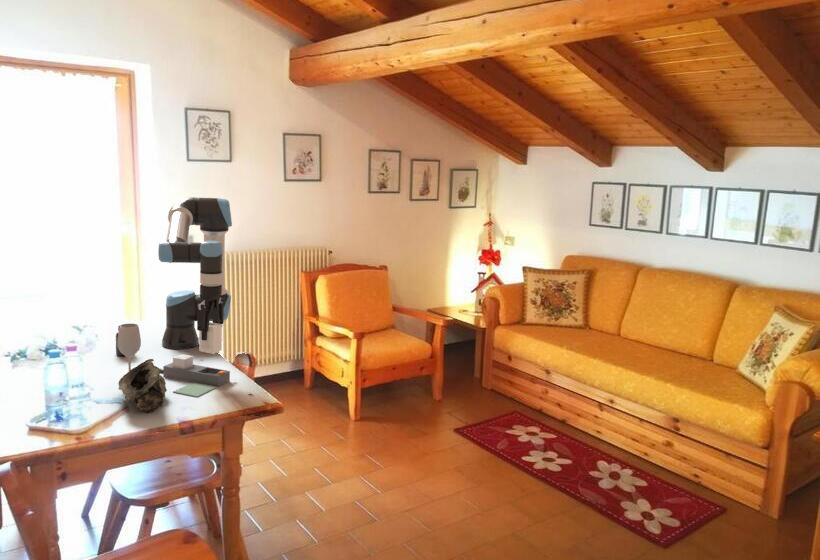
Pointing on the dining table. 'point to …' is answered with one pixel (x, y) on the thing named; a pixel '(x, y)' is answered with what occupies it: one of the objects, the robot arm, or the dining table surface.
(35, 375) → the dining table surface
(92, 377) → the dining table surface
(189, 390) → the felt mat
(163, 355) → the dining table surface
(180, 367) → the block
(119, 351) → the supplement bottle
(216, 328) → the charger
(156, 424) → the dining table surface
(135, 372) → the hollow geode rock
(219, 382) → the power strip
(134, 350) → the wineglass
